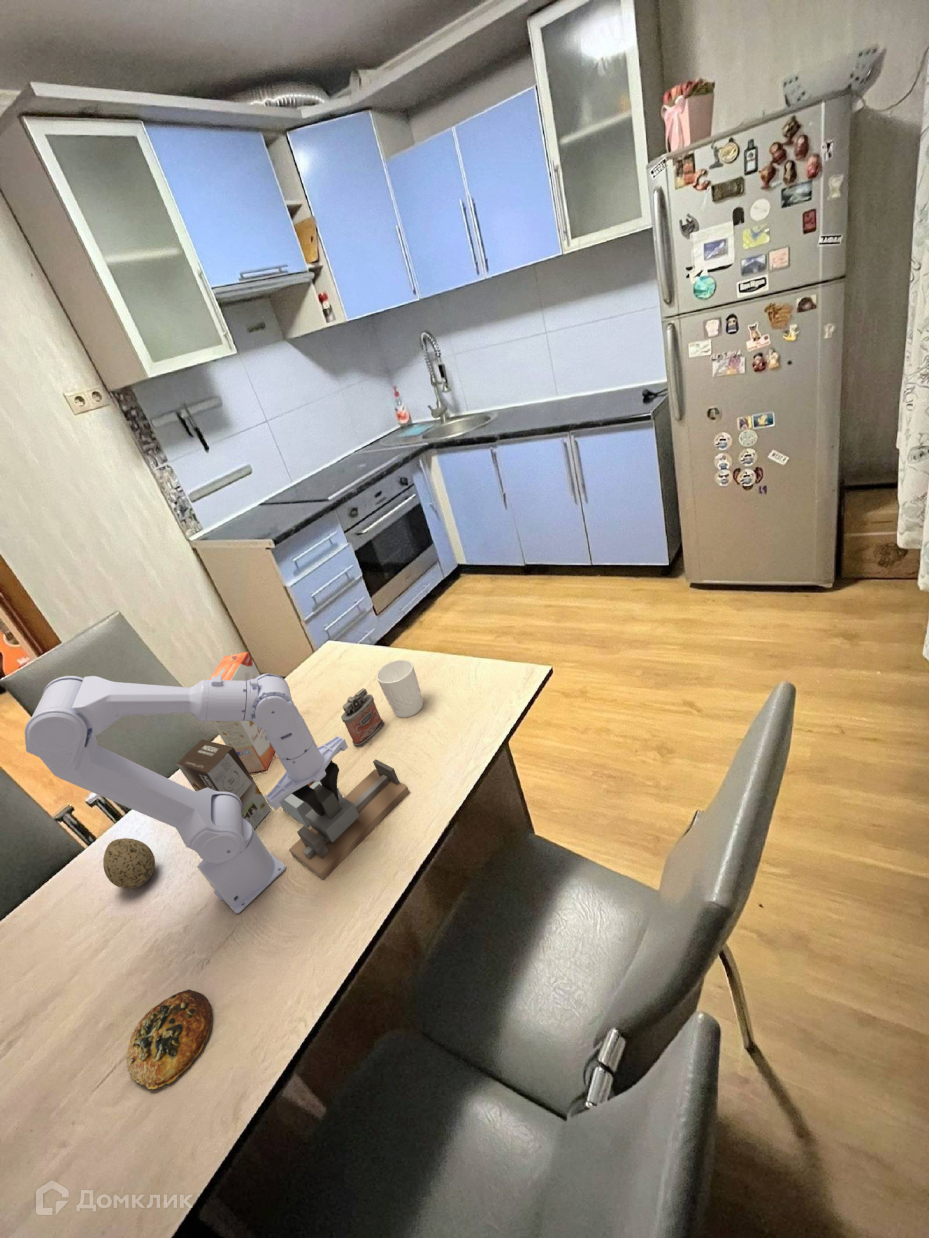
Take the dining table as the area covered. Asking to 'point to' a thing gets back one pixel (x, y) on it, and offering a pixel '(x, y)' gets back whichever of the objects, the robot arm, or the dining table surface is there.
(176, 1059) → the bread roll
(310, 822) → the carriage
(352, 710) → the lighter
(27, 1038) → the dining table surface
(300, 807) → the box
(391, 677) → the white cup
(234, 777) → the coffee box
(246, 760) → the cracker box
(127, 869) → the decorative egg
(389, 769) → the rail
